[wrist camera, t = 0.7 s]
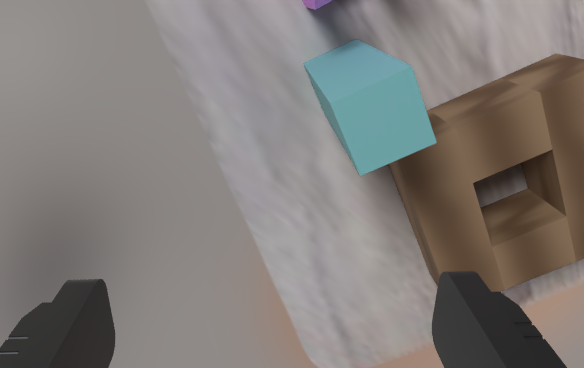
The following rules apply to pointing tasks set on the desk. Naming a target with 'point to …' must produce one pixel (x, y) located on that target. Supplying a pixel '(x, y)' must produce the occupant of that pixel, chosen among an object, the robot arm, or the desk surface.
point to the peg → (371, 104)
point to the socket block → (492, 159)
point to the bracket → (315, 3)
